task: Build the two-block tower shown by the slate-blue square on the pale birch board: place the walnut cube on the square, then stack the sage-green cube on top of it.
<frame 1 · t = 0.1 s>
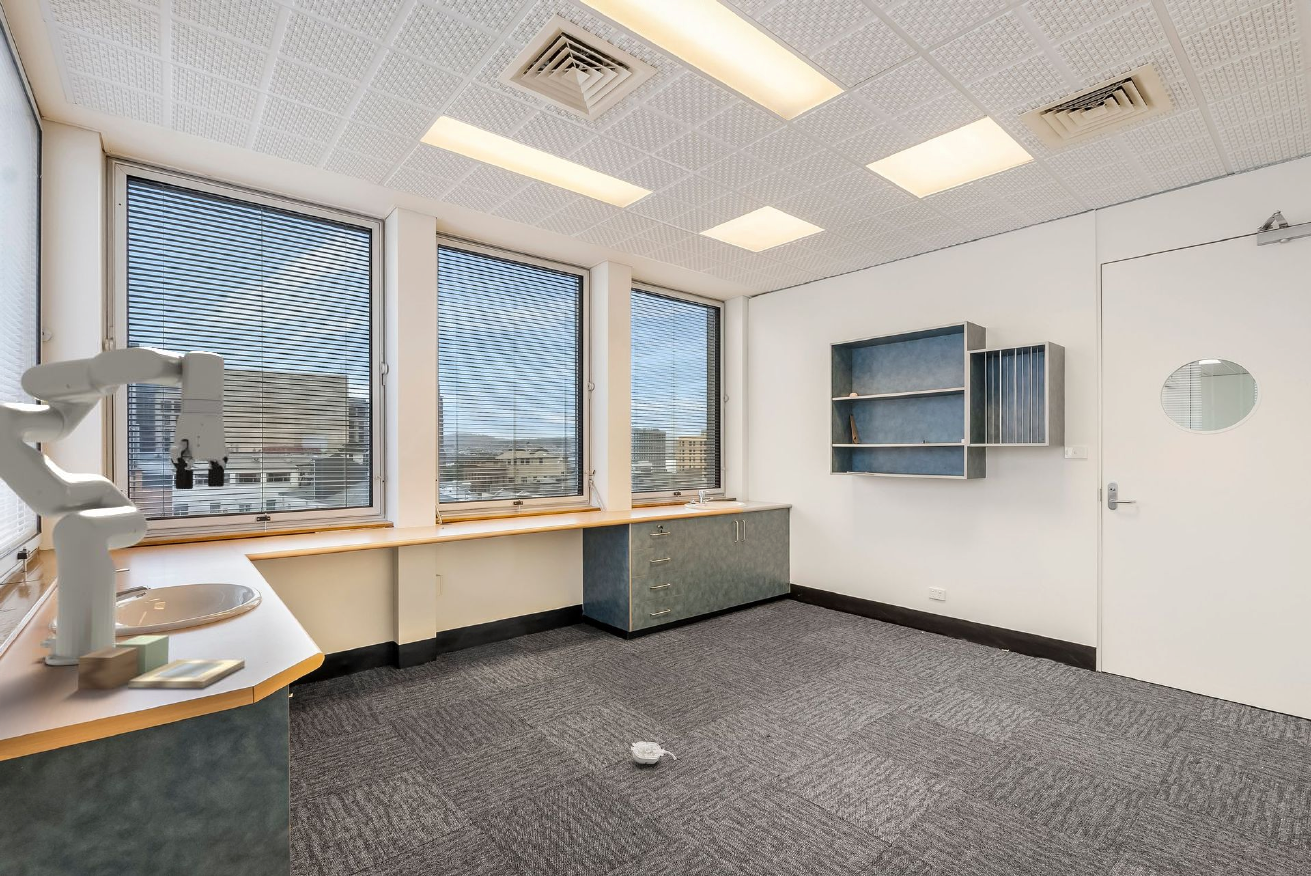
hand: (200, 487, 137), 36 cm above the worktop, fingers open, 9 cm apart
sage cube: (142, 669, 128), on the worktop
walnut cube: (108, 684, 120), on the worktop
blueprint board: (189, 676, 124), on the worktop
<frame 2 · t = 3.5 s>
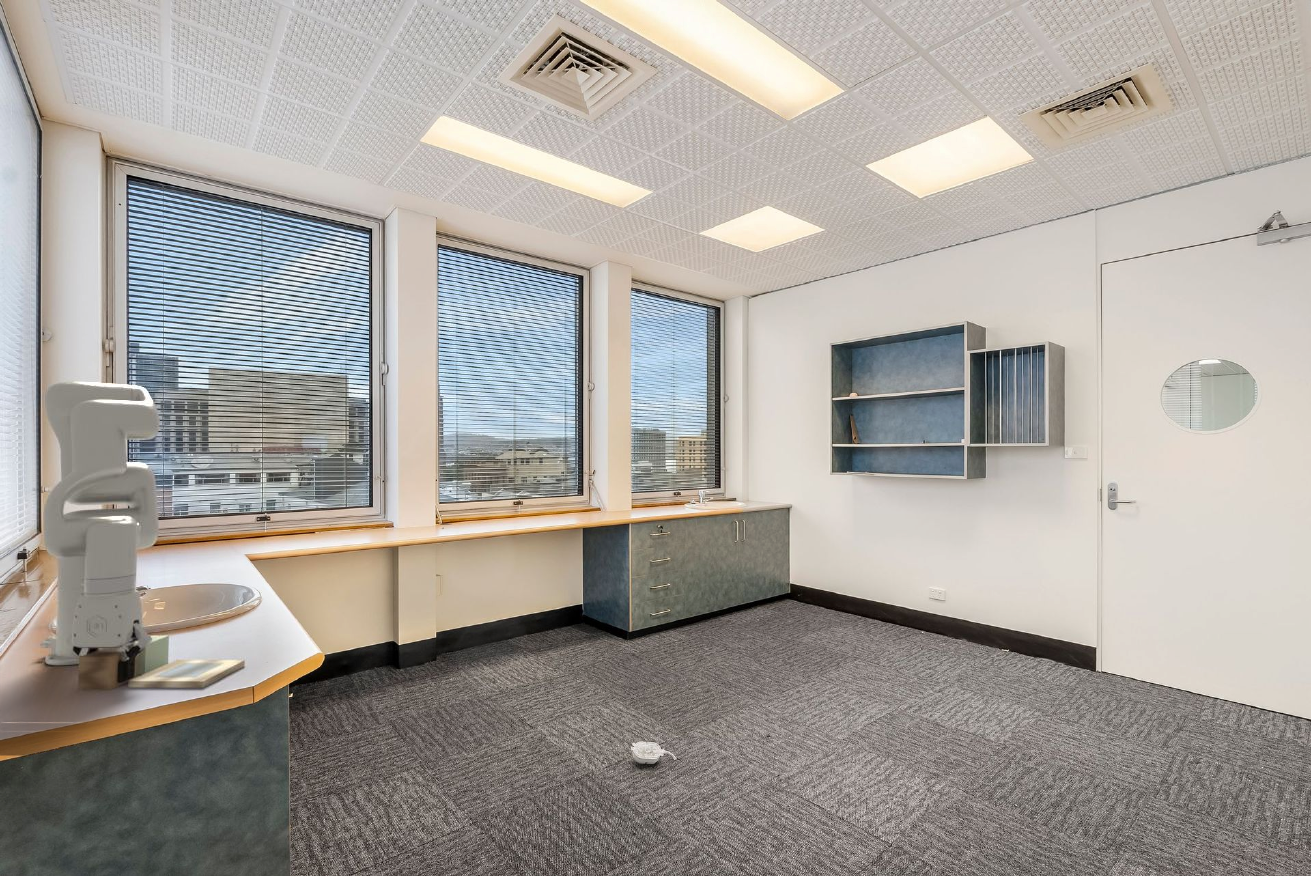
hand: (108, 679, 120), 1 cm above the worktop, fingers closed on walnut cube, 6 cm apart
walnut cube: (108, 683, 120), on the worktop, touching gripper
everything else where it was.
when the fingers open (3 cm above the worktop, at t = 8.9 s): walnut cube drops 1 cm, resting on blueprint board.
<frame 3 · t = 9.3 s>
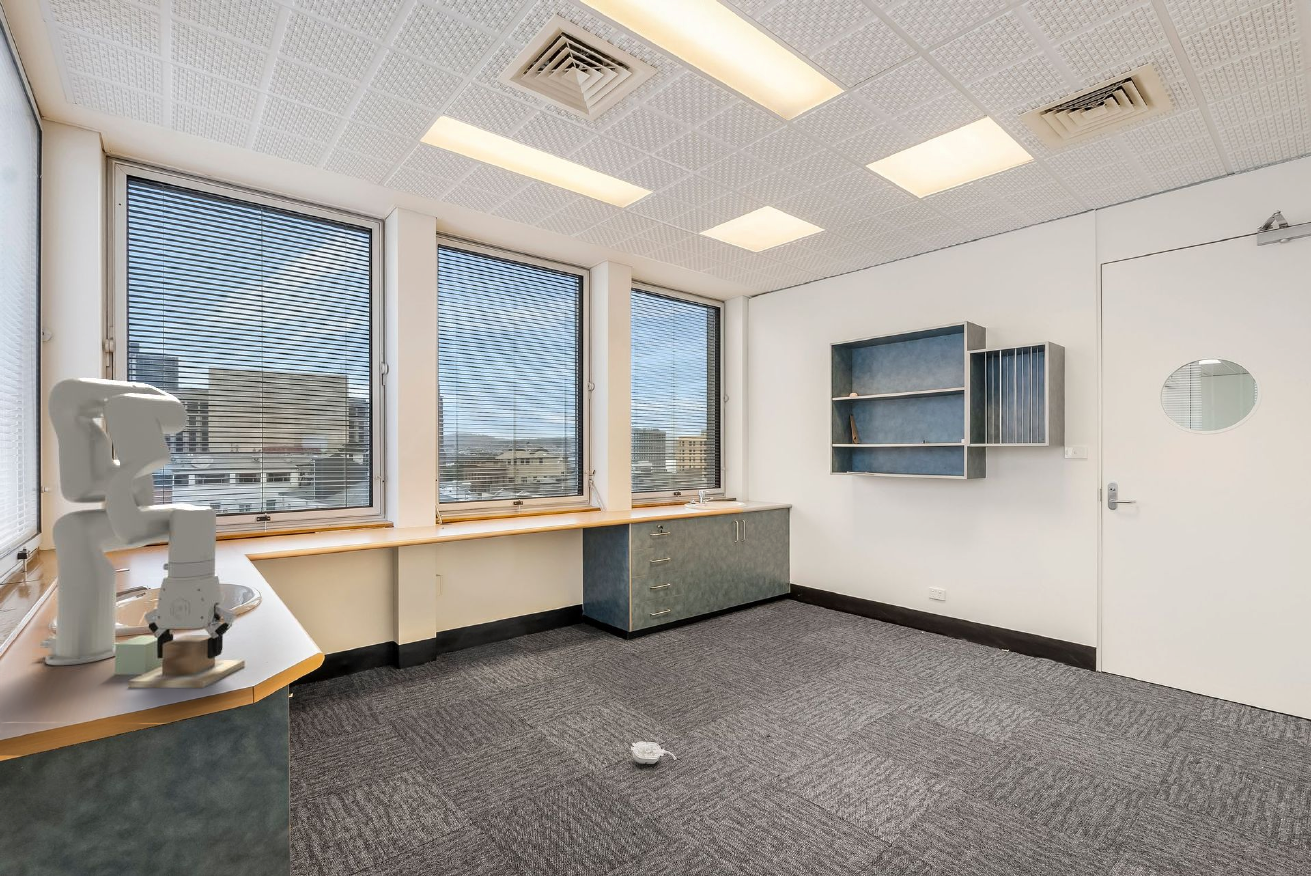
hand: (189, 656, 124), 4 cm above the worktop, fingers open, 9 cm apart
walnut cube: (189, 669, 124), point 1 cm above the worktop, touching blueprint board
everything else where it was.
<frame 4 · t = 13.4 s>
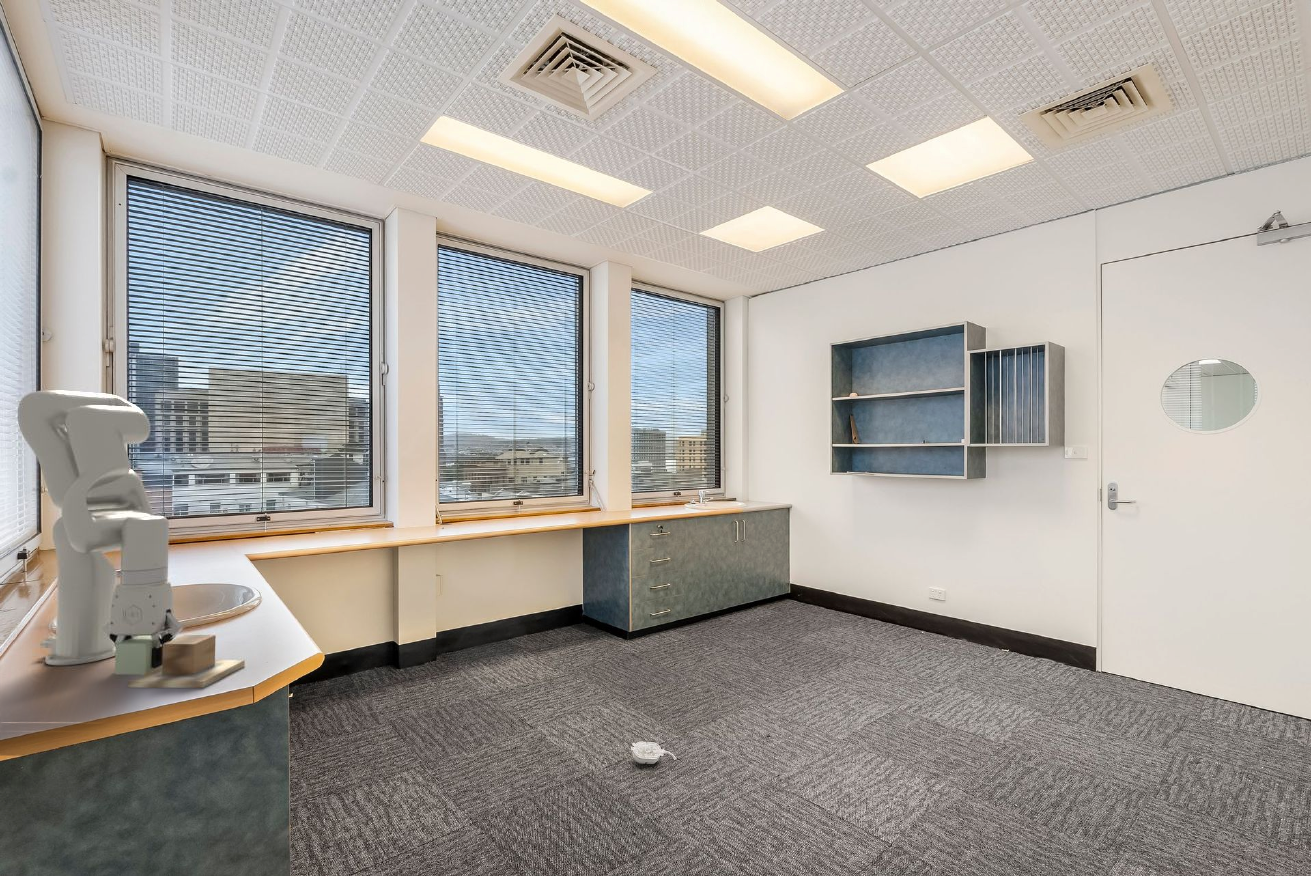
hand: (142, 664, 128), 1 cm above the worktop, fingers closed on sage cube, 6 cm apart
sage cube: (142, 669, 128), on the worktop, touching gripper
everything else where it was.
when the fingers open (9 cm above the worktop, at t = 18.2 s): sage cube drops 1 cm, resting on walnut cube.
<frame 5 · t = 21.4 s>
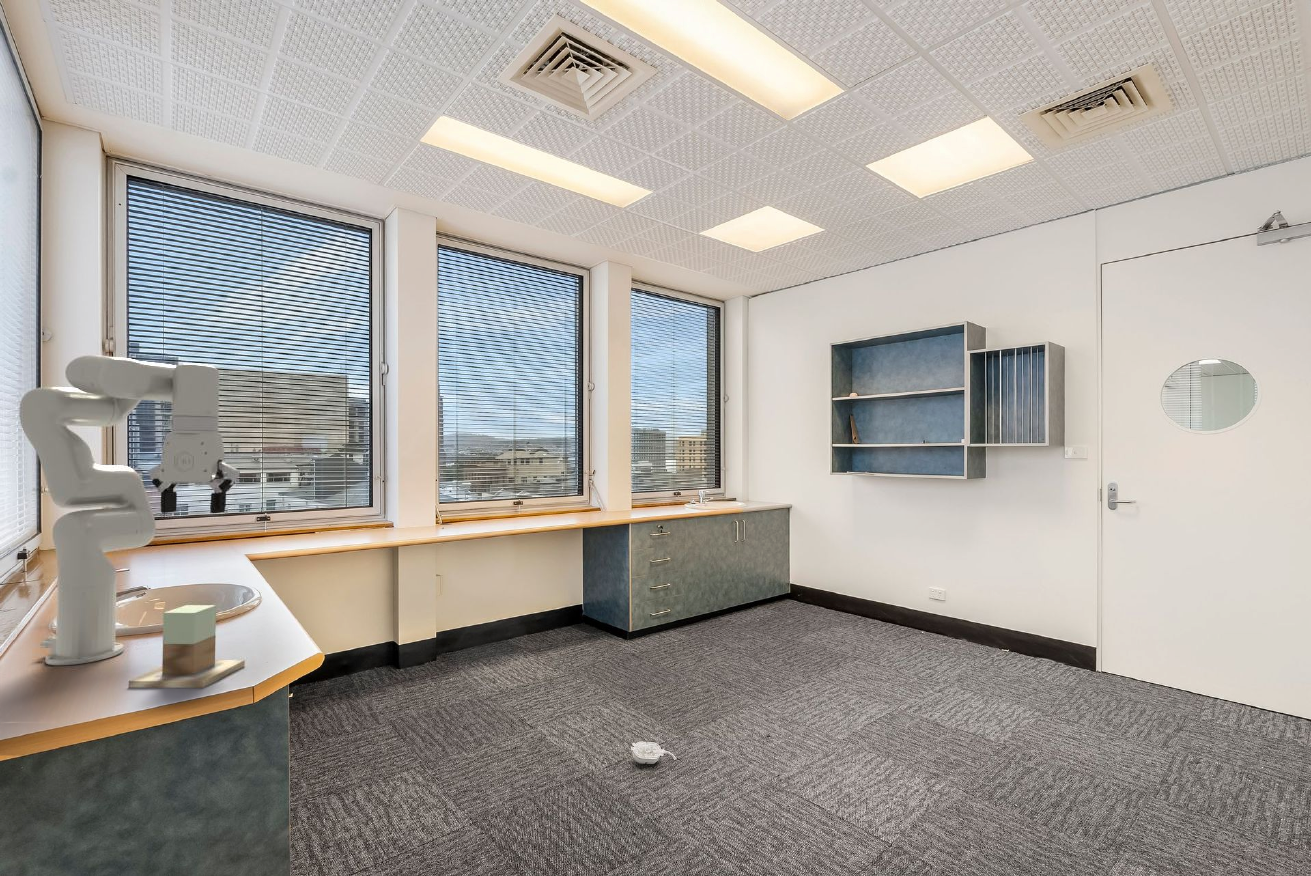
hand: (193, 512, 125), 32 cm above the worktop, fingers open, 9 cm apart
sage cube: (189, 639, 124), point 7 cm above the worktop, touching walnut cube
walnut cube: (189, 669, 124), point 1 cm above the worktop, touching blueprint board, sage cube
at the end: walnut cube 0.0 cm off-centre on the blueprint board, point 1.2 cm above the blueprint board's base; sage cube 0.1 cm off-centre on the walnut cube, point 6.0 cm above the walnut cube's base; sage cube tilted 0° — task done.
